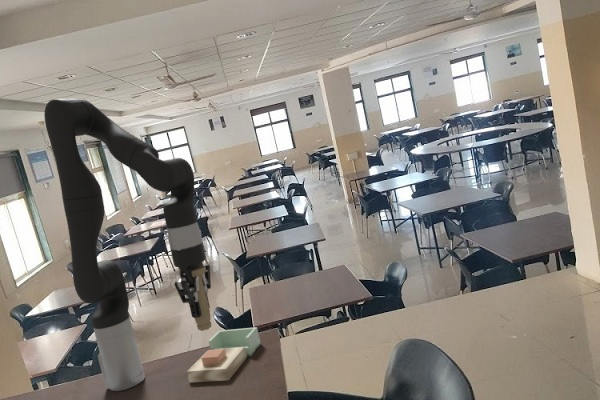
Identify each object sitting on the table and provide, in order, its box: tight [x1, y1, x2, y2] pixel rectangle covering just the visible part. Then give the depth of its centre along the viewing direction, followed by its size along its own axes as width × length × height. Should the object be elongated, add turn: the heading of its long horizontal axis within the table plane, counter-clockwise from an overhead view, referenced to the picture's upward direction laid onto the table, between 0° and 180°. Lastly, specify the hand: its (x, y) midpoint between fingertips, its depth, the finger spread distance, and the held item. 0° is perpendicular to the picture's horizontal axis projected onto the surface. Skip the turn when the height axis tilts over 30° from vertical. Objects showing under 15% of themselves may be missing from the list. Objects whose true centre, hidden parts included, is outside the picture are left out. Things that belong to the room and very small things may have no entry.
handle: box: [178, 264, 212, 332], centre depth 121 cm, size 5×6×15 cm
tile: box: [200, 349, 226, 365], centre depth 131 cm, size 4×4×2 cm
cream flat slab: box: [186, 347, 248, 384], centre depth 132 cm, size 11×12×3 cm
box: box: [208, 326, 262, 358], centre depth 142 cm, size 12×8×5 cm, turn 74°
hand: (201, 312), depth 122 cm, fingers closed on handle, 4 cm apart
